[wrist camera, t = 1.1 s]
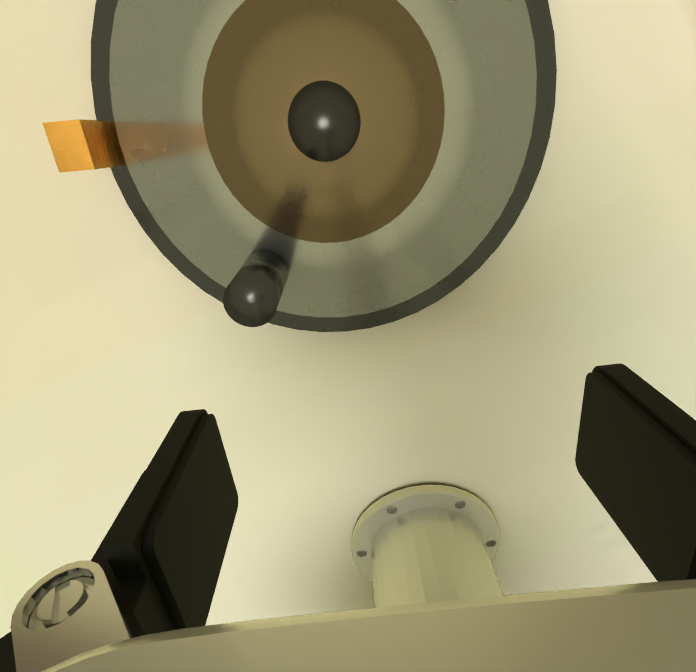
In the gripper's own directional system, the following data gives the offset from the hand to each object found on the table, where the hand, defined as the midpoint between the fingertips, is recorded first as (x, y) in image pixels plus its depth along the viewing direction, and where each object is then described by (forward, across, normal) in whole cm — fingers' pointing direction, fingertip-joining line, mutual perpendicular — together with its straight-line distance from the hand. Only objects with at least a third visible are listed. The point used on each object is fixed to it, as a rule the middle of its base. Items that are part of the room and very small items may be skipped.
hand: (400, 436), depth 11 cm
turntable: (+16, +1, -8) cm, 18 cm away
